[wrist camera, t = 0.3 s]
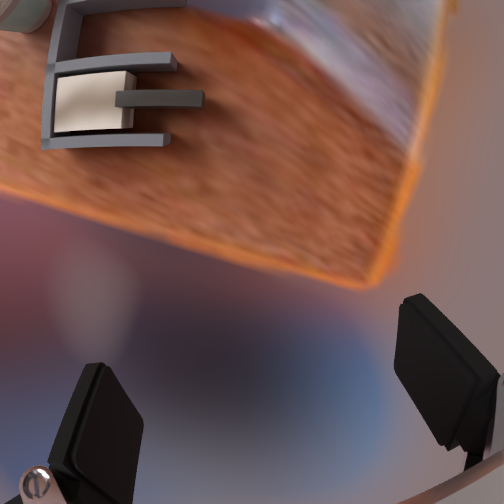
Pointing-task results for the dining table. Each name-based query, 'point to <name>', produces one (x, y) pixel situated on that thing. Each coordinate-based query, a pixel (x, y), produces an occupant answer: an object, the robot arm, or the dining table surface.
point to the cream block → (112, 101)
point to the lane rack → (96, 70)
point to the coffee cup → (23, 14)
